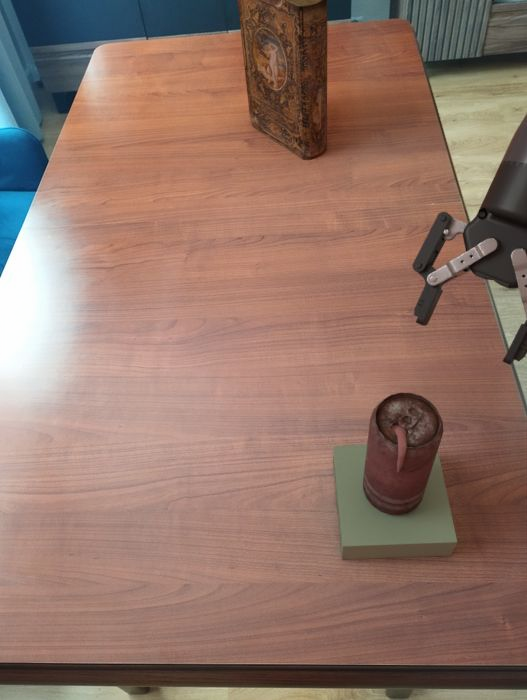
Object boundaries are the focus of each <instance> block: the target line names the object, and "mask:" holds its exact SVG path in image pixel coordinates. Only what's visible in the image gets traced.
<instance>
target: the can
mask: <svg viewBox="0 0 527 700" xmlns="http://www.w3.org/2000/svg"><path fill="white" fill-rule="evenodd" d="M444 432H445V431H444V421H443V419H442V416H441V415H440V412H439V411H438V409H437V407H436V406H435V405H434V404H433V403H432V402H431V401H430V400H429V399H427V398H425V397H424V396H423V395H420V394H416V393H413V392H403V391H402V392H396V393H393V394H390V395H388V396H387V397H385V398H383V399H382V400H381V401H379V403H378V404H377V405H376V406H375V407H374V408H373V409H372V413H371V415H370V417H369V427H368V433H367V434H368V435H367V443H366V444H367V451H366V459H365V468H364V476H363V490H364V493H365V496H366V498H367V500H368V501H369V502H370V504H371V505H372V506H373V507H375V508H376V509H377V510H379V511H380V512H383V513H386V514H389V515H403V514H407V513H409V512H411V511H412V510H414V509H416V508H417V506H418V505H419V504H420V502H421V501H422V498H423V495H424V492H425V489H426V486H427V482H428V479H429V476H430V473H431V470H432V467H433V464H434V461H435V458H436V454H437V451H438V452H439V447H440V445H441V442H442V438H443V434H444Z"/></svg>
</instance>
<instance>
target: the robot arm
mask: <svg viewBox="0 0 527 700" xmlns="http://www.w3.org/2000/svg"><path fill="white" fill-rule="evenodd" d="M483 198H484V199H483V200H482V203H481V205H480V207H479V209H478V211H477V213H476V215H475V216H474V217H473V219H472V220H471V221H469V222H465V221H462V220H461V219H457V218H456V217H454V216H453V215H451V214H450V213H449V212H447V211H441V212H439V213H438V214H437V216H436V218H435V219H434V222H433V224H432V225H431V226H430V227H431V228H430V229H429V232H428V233H427V235H426V237H425V239H424V241H423V243H422V245H421V247H420V249H419V251H418V253H417V255H416V257H415V259H414V260H413V263H412V269H413V271H414V272H416V273H417V274H419V275H420V277H422V278H423V281H424V282H425V283H424V287H423V289H422V290H421V291H422V292H421V293H420V296H419V298H418V300H417V302H416V305H415V307H414V309H413V316H416V319H415V323H416V324H418V325H421V326H423V327H426V326H428V324H429V322H430V320H431V318H432V316H433V314H434V311H435V309H436V307H437V305H438V303H439V301H440V298H441V296H442V295H443V292H444V290H443V289H442V288H443V286H445V285H447V284H448V283H450V282H452V281H454V280H455V279H457V278H460V277H462V276H464V275H465V274H467V273H470V272H472V274H474V276H476V277H478V278H480V279H483V280H487V281H493V282H495V283H496V284H498V286H501V287H504V288H506V289H509V290H515V289H518V291H519V295H520V299H521V302H522V306H523V310H524V315H525V318H526V319H525V322H524V323H521V324H520V326H519V328H518V330H517V332H516V334H515V335H514V338H513V340H512V342H511V344H510V345H509V347H508V350H507V352H506V354H505V355H504V358H503V360H502V362H503V363H504V364H507V365H509V366H511V365H512V364H514V361H517V362H521V361H522V360H523V359H524V358H525V357H526V356H527V113H525V115H524V117H523V119H522V120H521V122H520V123H519V125H518V126H517V128H516V130H515V132H514V134H513V135H512V138H511V140H510V141H509V144H508V146H507V148H506V149H505V152H504V155H503V157H502V159H501V162H500V164H499V166H498V168H497V170H496V171H495V175H494V176H493V179H492V181H491V183H490V185H489V187H488V189H487V192H486V194H485V196H484V197H483ZM460 234H462V239H463V243H464V249H465V252H463V253H461V254H460V255H458V256H456V257H454V258H453V259H451V260H449V261H447V263H446V264H445V265H442V266H441V267H439V268H437V269H436V268H435V267H434V264H435V263H436V260H437V258H438V256H439V254H440V253H441V251H442V249H443V248H444V245H445V243H446V242H450V241H453V240H454V239H455V238H456V237H457V236H458V235H460Z"/></svg>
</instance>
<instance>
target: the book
mask: <svg viewBox="0 0 527 700" xmlns="http://www.w3.org/2000/svg"><path fill="white" fill-rule="evenodd" d="M328 1H329V0H237V9H238V18H239V27H240V28H239V29H240V35H241V46H242V56H243V64H244V65H243V66H244V74H245V84H246V94H247V95H246V96H247V103H248V112H249V119H250V124H251V126H252V127H253V128H254V129H256V130H258V131H259V132H260V133H262V134H263V135H264V136H266V137H268V138H269V139H271V140H272V141H274V142H275V143H277V144H279V145H280V146H282V147H283V148H285V149H286V150H288V151H289V152H291V153H292V154H295V155H296V156H297V157H299V158H301V159H302V160H304V161H305V160H306V161H307V160H308V161H309V160H314V159H317V158H319V157H321V156H322V155H324V154H325V153H326V152H327V150H328V5H329V4H328Z"/></svg>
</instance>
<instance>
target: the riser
mask: <svg viewBox="0 0 527 700" xmlns="http://www.w3.org/2000/svg"><path fill="white" fill-rule="evenodd" d="M366 451H367V443H363V444H361V443H360V444H341V445H333V449H332V452H333V453H332V464H333V466H332V467H333V476H334V489H335V501H336V510H337V522H338V531H339V542H340V545H339V546H340V554H341V560H368V559H394V558H395V559H396V558H423V557H424V558H425V557H450V556H452V554H453V552H454V550H455V548H456V546H457V544H458V538H457V533H456V529H455V523H454V519H453V515H452V514H453V513H452V510H451V505H450V499H449V496H448V491H447V486H446V481H445V477H444V473H443V472H444V471H443V468H442V463H441V460H440V454H439V450H438V451H437V454H436V458H435V461H434V464H433V467H432V470H431V473H430V476H429V479H428V482H427V486H426V489H425V492H424V495H423V498H422V501H421V502H420V504H419V505H418V506H417V508H416V509H414V510H412V511H411V512H409V513H407V514H403V515H389V514H386V513H383V512H380V511H379V510H377V509H376V508H375V507H373V506H372V505H371V504H370V502H369V501H368V500H367V498H366V496H365V493H364V490H363V476H364V468H365V459H366Z"/></svg>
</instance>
